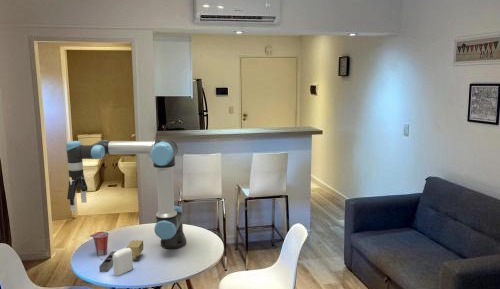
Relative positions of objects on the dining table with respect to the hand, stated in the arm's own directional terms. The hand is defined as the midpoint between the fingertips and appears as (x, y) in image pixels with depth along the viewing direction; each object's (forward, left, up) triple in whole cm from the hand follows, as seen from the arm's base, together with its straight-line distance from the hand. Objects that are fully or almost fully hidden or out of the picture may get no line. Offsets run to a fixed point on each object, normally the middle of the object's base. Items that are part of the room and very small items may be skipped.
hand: (78, 206), depth 228 cm
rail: (-20, +13, -28) cm, 37 cm away
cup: (-11, +2, -28) cm, 30 cm away
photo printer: (-30, +21, -28) cm, 47 cm away
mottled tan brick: (-32, +6, -28) cm, 43 cm away
